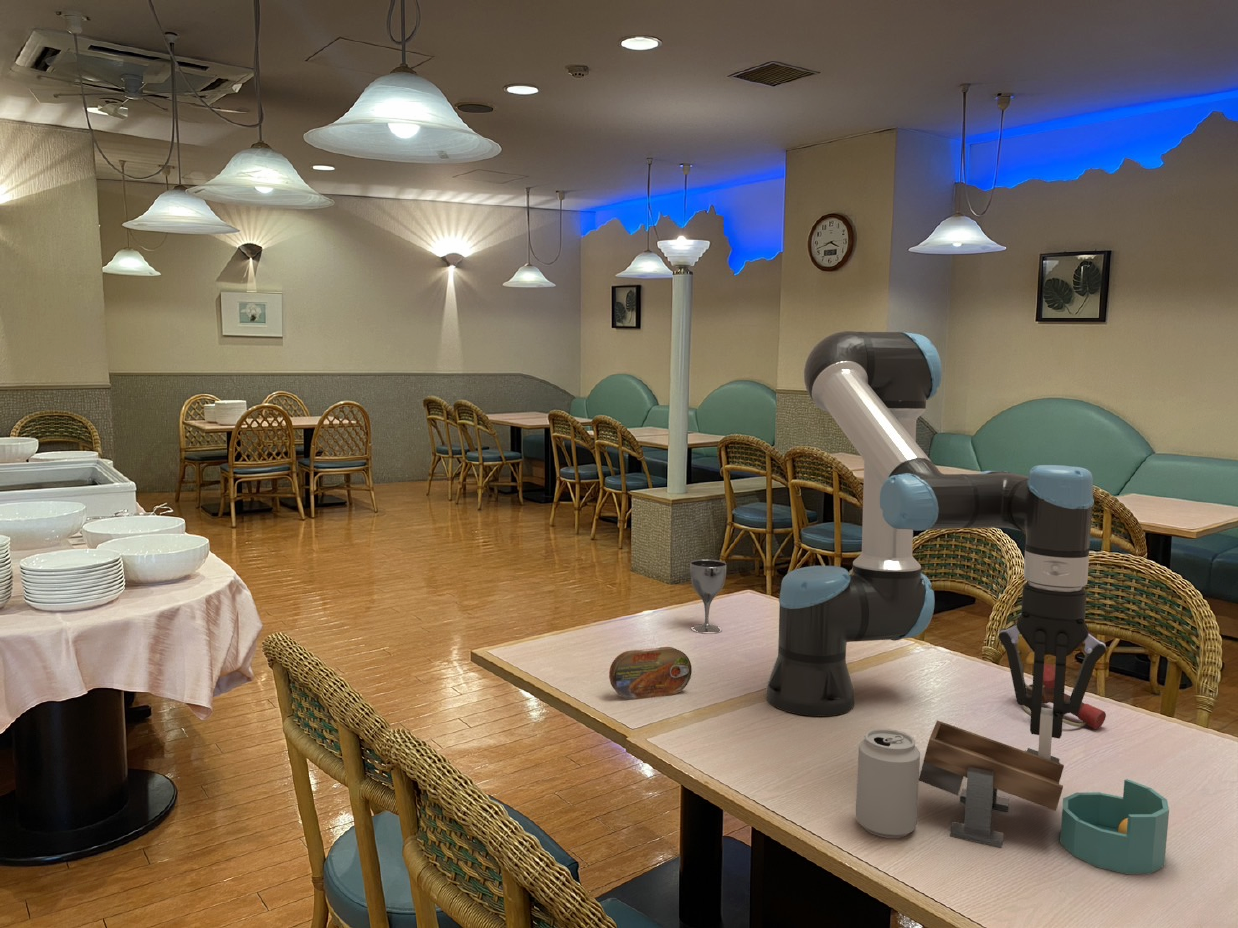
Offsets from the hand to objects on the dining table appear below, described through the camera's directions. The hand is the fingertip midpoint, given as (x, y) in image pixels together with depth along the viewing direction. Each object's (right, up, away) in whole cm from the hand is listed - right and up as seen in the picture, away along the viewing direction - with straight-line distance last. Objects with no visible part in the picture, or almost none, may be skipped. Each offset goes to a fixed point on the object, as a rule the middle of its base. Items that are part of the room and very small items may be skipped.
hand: (1044, 758), depth 121 cm
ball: (+7, -6, -10) cm, 13 cm away
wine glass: (-37, +2, +82) cm, 90 cm away
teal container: (+4, -8, -9) cm, 13 cm away
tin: (-51, -2, +41) cm, 66 cm away
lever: (-8, -4, 0) cm, 8 cm away
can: (-22, -8, -4) cm, 24 cm away
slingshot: (+16, -4, +34) cm, 38 cm away
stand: (-9, -7, -2) cm, 12 cm away
